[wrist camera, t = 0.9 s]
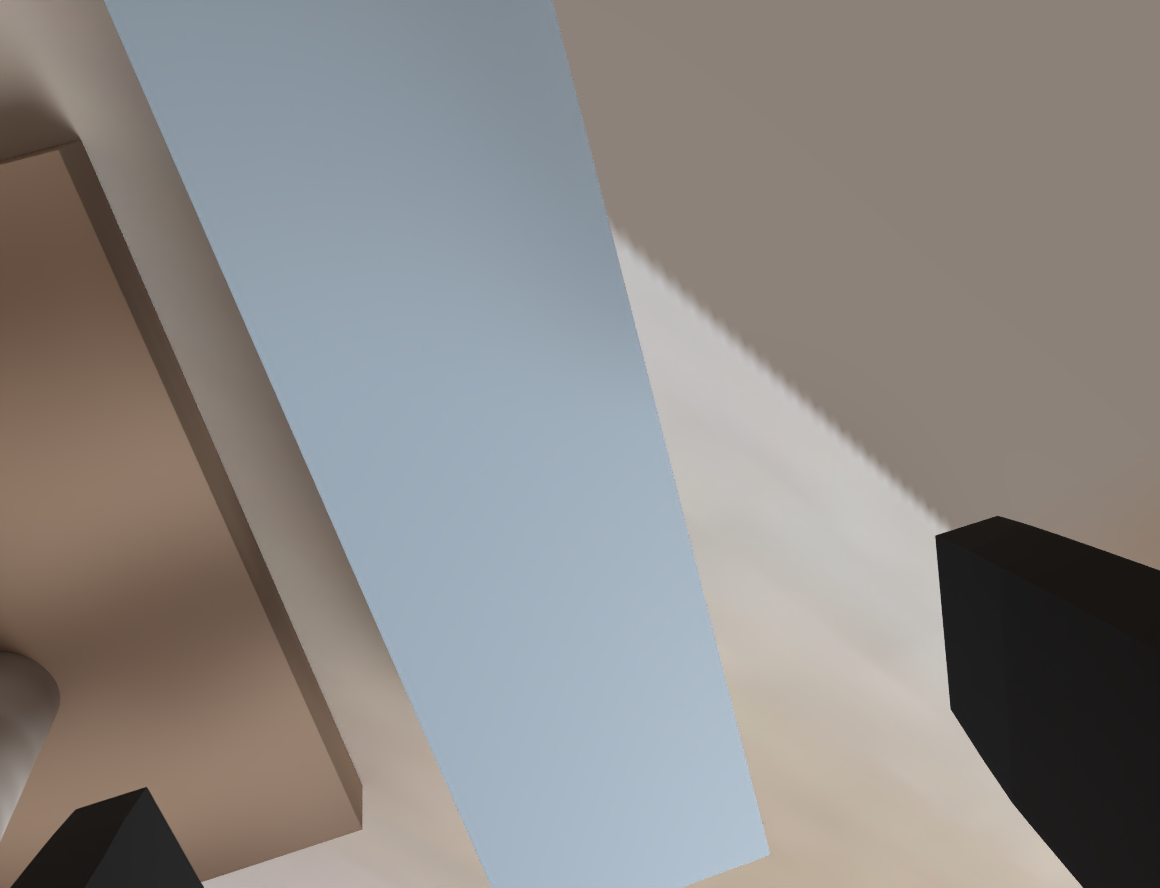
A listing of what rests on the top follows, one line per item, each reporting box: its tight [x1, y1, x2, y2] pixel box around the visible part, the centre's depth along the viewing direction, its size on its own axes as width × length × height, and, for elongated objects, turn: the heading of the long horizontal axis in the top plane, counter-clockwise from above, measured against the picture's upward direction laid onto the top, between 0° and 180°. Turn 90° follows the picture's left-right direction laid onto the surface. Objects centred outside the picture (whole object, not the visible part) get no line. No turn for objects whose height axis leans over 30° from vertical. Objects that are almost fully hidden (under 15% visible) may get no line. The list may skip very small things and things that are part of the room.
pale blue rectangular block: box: [104, 0, 770, 888], centre depth 15 cm, size 14×4×6 cm, turn 15°
